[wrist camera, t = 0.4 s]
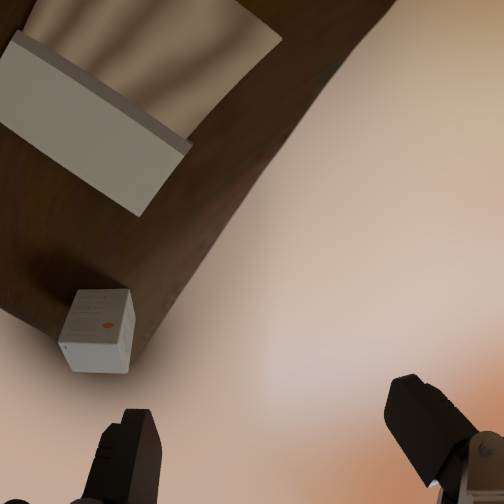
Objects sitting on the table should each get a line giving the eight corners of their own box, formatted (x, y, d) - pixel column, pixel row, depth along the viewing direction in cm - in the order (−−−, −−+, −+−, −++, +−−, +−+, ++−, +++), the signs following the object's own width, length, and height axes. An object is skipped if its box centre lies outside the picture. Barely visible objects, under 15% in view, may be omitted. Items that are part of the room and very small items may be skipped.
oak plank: (30, 29, 20) (22, 32, 19) (94, -76, 13) (86, -78, 11) (188, 133, 31) (185, 140, 30) (282, 38, 23) (282, 39, 22)
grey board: (-15, 104, 23) (-22, 105, 22) (24, 30, 20) (17, 29, 19) (141, 211, 35) (139, 217, 33) (192, 142, 32) (192, 145, 31)
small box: (87, 318, 41) (70, 372, 32) (77, 288, 38) (55, 342, 29) (136, 318, 43) (128, 375, 34) (130, 287, 40) (118, 344, 31)
